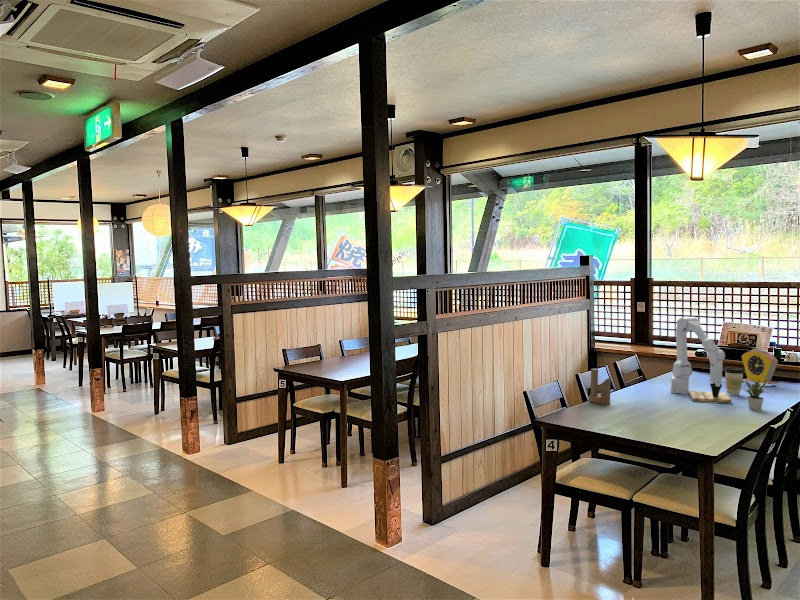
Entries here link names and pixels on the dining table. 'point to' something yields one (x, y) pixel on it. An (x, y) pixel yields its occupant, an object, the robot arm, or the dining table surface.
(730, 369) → the coffee cup
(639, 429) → the dining table surface
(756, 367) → the yellow mantel clock
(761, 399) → the house plant
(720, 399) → the oak plank
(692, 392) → the floor panel
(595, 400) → the wooden block
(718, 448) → the dining table surface
